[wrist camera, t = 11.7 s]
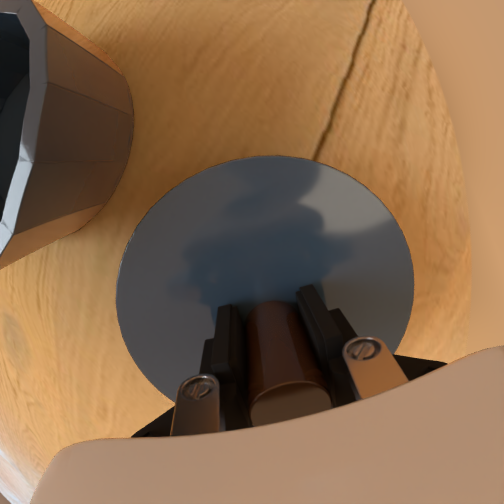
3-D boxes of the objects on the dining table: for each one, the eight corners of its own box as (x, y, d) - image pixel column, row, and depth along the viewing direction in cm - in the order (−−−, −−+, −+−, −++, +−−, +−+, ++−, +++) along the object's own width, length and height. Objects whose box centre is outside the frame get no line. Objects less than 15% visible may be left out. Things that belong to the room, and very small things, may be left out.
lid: (384, 133, 11) (484, 119, 5) (400, 374, 15) (447, 444, 9) (86, 207, 11) (-9, 241, 5) (183, 426, 15) (170, 509, 9)
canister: (119, 17, 12) (56, -52, 4) (157, 203, 15) (79, 241, 7) (-15, 102, 12) (-92, 96, 4) (12, 255, 16) (-67, 301, 7)
